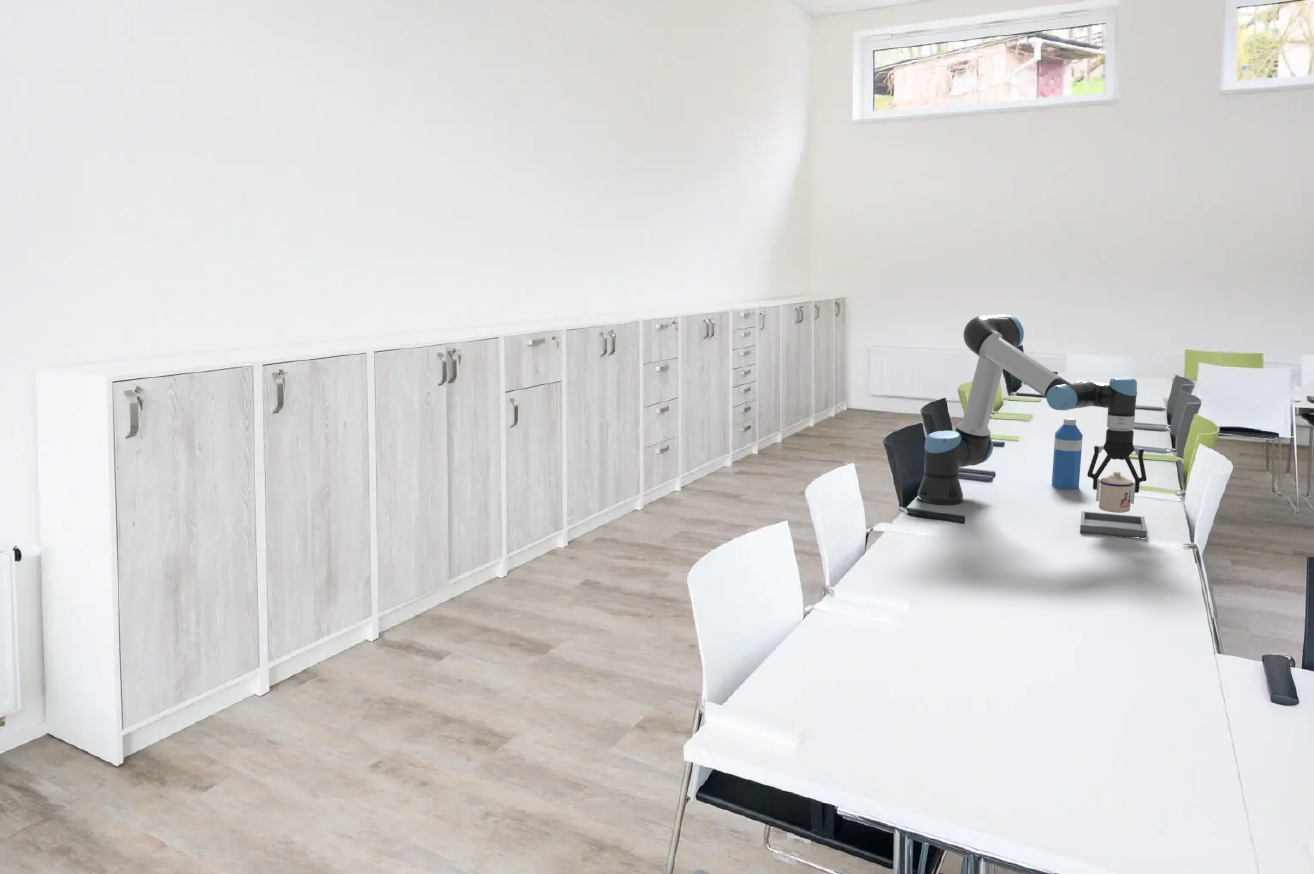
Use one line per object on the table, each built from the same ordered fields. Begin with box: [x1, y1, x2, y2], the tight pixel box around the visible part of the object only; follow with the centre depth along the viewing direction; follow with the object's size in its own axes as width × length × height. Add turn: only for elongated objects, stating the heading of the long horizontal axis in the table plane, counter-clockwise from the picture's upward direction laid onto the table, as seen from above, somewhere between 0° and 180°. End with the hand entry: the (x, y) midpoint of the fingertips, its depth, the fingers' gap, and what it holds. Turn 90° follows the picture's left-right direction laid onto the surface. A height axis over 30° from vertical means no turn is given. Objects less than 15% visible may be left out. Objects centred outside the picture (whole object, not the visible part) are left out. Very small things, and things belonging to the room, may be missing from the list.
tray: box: [1079, 510, 1148, 539], centre depth 301 cm, size 18×18×3 cm
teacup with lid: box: [1098, 471, 1133, 514], centre depth 299 cm, size 12×9×12 cm
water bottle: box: [1051, 417, 1083, 490], centre depth 356 cm, size 9×9×25 cm
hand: (1114, 501), depth 299 cm, fingers closed on teacup with lid, 9 cm apart
